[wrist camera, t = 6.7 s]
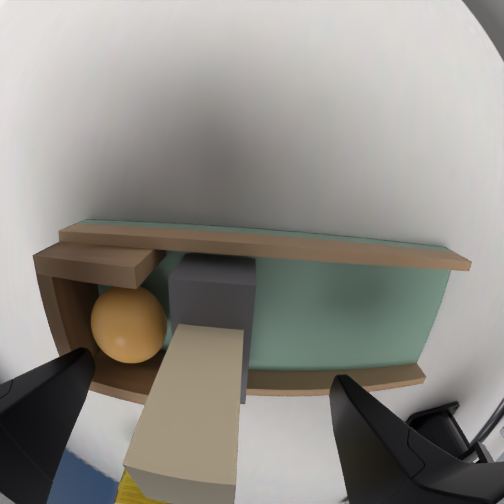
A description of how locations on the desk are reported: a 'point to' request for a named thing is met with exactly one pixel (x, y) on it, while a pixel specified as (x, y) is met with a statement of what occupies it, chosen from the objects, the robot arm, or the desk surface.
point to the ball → (129, 324)
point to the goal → (82, 302)
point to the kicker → (198, 385)
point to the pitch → (309, 299)
